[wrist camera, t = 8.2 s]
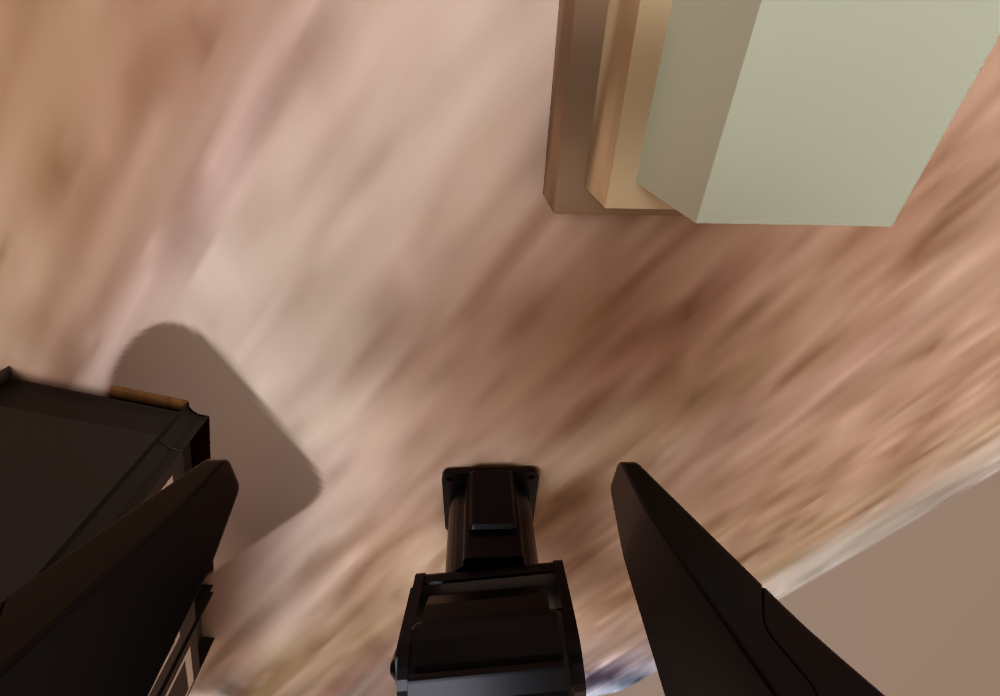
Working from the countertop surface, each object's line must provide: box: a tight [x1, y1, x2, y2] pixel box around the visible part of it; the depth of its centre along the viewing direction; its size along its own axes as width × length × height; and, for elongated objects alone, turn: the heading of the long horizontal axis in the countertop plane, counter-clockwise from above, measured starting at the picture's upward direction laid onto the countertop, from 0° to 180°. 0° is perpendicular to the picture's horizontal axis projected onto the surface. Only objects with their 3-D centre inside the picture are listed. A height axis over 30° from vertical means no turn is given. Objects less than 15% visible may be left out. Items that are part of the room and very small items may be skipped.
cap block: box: [636, 0, 1000, 226], centre depth 9 cm, size 4×4×4 cm
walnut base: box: [543, 0, 683, 215], centre depth 15 cm, size 8×8×3 cm
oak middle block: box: [584, 0, 674, 209], centre depth 12 cm, size 6×6×3 cm
